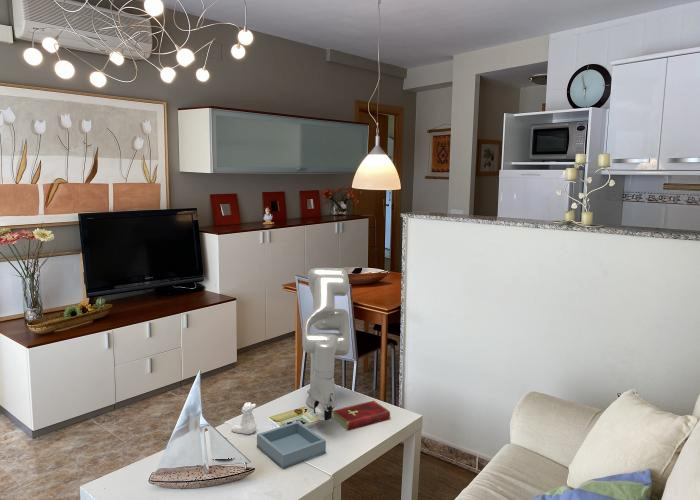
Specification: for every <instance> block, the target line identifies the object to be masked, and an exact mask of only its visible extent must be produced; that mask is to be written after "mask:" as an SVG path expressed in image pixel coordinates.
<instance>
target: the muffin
mask: <svg viewBox="0 0 700 500" xmlns="http://www.w3.org/2000/svg"><path fill="white" fill-rule="evenodd" d="M328 407H329V406H328ZM325 410H326V409H325V405H323V404H322V403H320V402H319V405H318V406H317V407H316V408H315V412H316V413H315V414H316V416H317V418H318V419H319V420H321V421H325V420H324V413H325Z"/></svg>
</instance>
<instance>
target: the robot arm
mask: <svg viewBox="0 0 700 500" xmlns="http://www.w3.org/2000/svg"><path fill="white" fill-rule="evenodd" d="M348 274H349V273H348V272H347V269H345V268H341V267H340V268H339V267H338V268H337V267H314V268H311V269H310V270H308V272H307V282H308V287H309V289H310V293H311V296H312V303H313V306H312V312H311V313H309V315H308V316H307V318H306V319H305V321H304V322H303V327H302V337H301V338H302V342H301V343H302V349H303V351H304V352H305V353H307V354H309V355H310V377H309V379H310V381H309V389H307V391H306V393H307V394H308V397H307V398H306V400H305V404H306V405H307V406H308V407H310V408H312V409H313V413H314V414H316V412H315V408H316V407H317V406H318V405H319V402H320V403H322V404H323V405H325V409H326V410H325V413H324V420H323V421H329V420H332V419H333V412H332V411H333V410H335V408H336V407H337V405H338V404H337V402H336V400H335V399H336V385H335V384H336V383H335V378H334V377H335V358H336V357H335V356H340V357H341V356H347V355H348V354H349V352H350V349H351V348H350V347H351V337H350V336H351V333H350V332H351V331H350V330H351V329H350V328H351V326H350V315H349V311H347V309H344V308H336V307H335V306H336V305H335V304H336V303H335V301H336V299H335V297H345V296H348V294H349V291H350V280H349V275H348ZM312 325H313V327H314V329H315V330H318V331H337V332H338V333H337V332H335V333H333V332H317V333H310V331H311V327H312ZM328 406H329V407H328Z"/></svg>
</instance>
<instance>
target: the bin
mask: <svg viewBox="0 0 700 500" xmlns="http://www.w3.org/2000/svg"><path fill="white" fill-rule="evenodd" d="M326 445H327V440H326V439H325V438H323V437H322V436H321V435H319V434H318V433H316V432H315V431H313V430H312V429H311V428H309V427H307V426H306V425H304V424H303V423H302V422H301V421H295V422H292V423H289V424H285V425H283V426H279V427H276V428H273V429H270V430H265V431H263V432H260V433H257V434H256V448H257V449H259V450H260V451H261V452H262V453H263V454H264V455H265V456H267V457H268V458H269V459H270V460H272V461H273V462H274V463H275V464H277V466H279V467H280V468H281V469H282V470H284V469H287V468H290V467H292V466H295V465H298V464H301V463H304V462H306V461H309V460H311V459H314V458H317V457H319V456H322V455H324V454H326V452H327V451H326V449H327V446H326Z"/></svg>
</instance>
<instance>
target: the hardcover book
mask: <svg viewBox="0 0 700 500" xmlns="http://www.w3.org/2000/svg"><path fill="white" fill-rule="evenodd" d="M332 419H333V420H334V421H335V422H336V423H338V424H339V425H340V427H341V426H342V427H343V429H345V430H346V431H347V432H348V431H352V430H356V429H360V428H364V427H366V426H369V425H374V424H377V423H378V424H379V423H382V422H384V421H385V422H386V421H388V420H391V410H389V409H387V408H386V407H385V406H383V405H381V404H380V403H378V402H377V401H375V400H371V401H366V402H361V403H357V404H353V405H350V406H346V407H342V408H338V409H333V410H332Z"/></svg>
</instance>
